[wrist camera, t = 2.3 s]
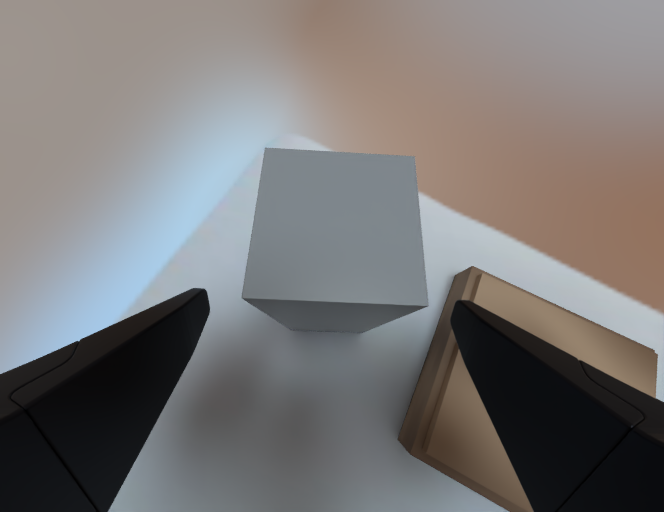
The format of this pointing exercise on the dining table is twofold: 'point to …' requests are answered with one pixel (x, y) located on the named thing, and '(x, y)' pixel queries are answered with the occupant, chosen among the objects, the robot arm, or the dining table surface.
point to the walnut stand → (465, 403)
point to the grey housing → (336, 241)
